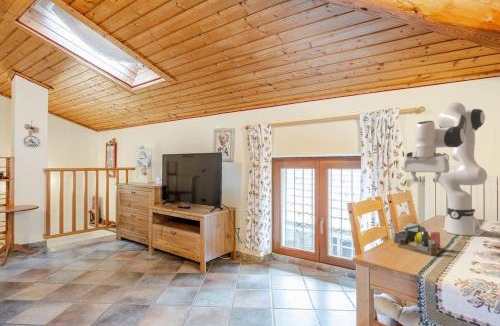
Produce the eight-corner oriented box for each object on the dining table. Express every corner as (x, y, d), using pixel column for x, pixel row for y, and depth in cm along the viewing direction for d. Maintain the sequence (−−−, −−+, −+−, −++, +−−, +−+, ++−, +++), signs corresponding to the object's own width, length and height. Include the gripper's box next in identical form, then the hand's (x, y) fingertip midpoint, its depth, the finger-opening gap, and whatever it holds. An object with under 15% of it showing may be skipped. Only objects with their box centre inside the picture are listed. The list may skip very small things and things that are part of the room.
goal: (407, 239, 153) (406, 222, 153) (420, 242, 146) (420, 225, 146) (393, 242, 147) (393, 225, 147) (407, 245, 141) (406, 228, 141)
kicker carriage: (432, 244, 137) (432, 227, 137) (443, 247, 133) (443, 229, 133) (417, 249, 131) (416, 231, 131) (428, 252, 127) (427, 233, 127)
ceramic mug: (418, 240, 149) (418, 226, 149) (404, 237, 157) (404, 223, 157) (430, 238, 154) (430, 224, 154) (416, 234, 161) (416, 221, 161)
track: (404, 245, 142) (404, 238, 142) (437, 253, 128) (437, 246, 128) (398, 247, 139) (397, 239, 139) (431, 255, 125) (431, 247, 125)
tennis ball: (413, 243, 144) (413, 230, 144) (428, 244, 142) (428, 231, 142) (416, 247, 137) (416, 233, 137) (433, 248, 135) (432, 234, 135)
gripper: (452, 152, 129) (452, 182, 129) (409, 154, 147) (409, 180, 147) (444, 152, 126) (445, 182, 126) (401, 154, 144) (401, 181, 144)
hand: (425, 181), depth 136 cm, fingers open, 8 cm apart
